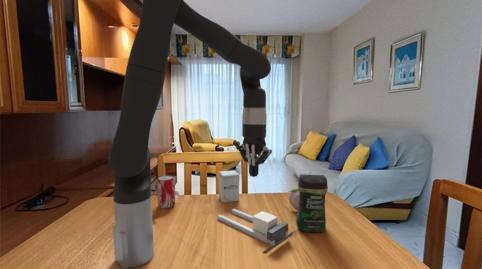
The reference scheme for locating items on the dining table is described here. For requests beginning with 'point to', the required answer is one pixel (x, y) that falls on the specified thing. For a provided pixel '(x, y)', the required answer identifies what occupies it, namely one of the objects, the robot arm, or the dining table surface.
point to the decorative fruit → (294, 198)
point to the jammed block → (264, 222)
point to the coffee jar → (312, 203)
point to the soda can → (166, 191)
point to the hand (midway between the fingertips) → (253, 176)
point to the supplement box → (228, 186)
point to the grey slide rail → (273, 235)
